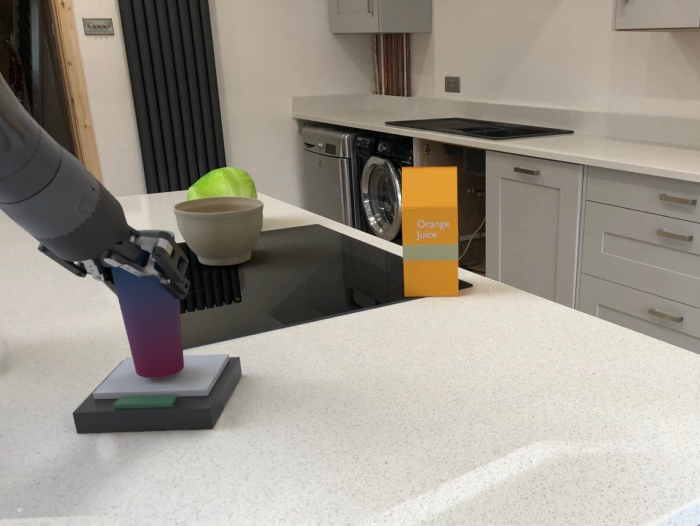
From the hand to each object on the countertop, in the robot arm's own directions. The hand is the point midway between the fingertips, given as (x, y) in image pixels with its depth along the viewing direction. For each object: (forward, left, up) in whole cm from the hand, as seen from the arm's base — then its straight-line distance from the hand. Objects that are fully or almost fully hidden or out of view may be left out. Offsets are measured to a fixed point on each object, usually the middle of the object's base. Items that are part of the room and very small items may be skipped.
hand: (156, 289), depth 80 cm
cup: (0, -1, -9) cm, 9 cm away
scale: (0, -2, -13) cm, 13 cm away
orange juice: (+31, +38, -13) cm, 51 cm away
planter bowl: (-8, +60, -13) cm, 62 cm away
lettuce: (-14, +88, -13) cm, 91 cm away
